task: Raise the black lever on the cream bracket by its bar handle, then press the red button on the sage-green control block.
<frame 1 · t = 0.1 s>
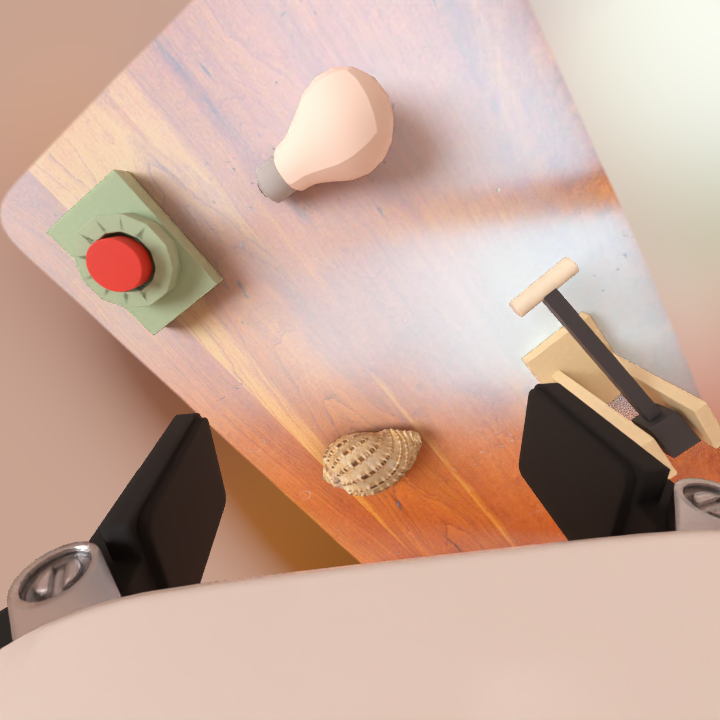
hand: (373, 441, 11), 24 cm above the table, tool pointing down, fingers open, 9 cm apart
bracket: (575, 369, 38), on the table
lever: (606, 362, 28), point 9 cm above the table, hinge at -20.0°
light bulb: (319, 149, 29), on the table
button: (120, 264, 27), point 4 cm above the table, slide at 0.1 cm
seashell: (371, 444, 40), on the table
control block: (147, 255, 31), on the table
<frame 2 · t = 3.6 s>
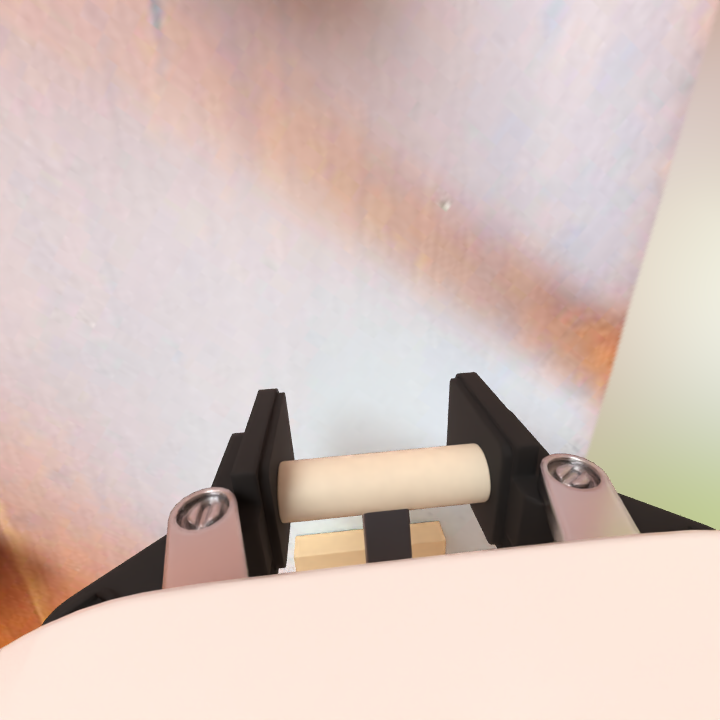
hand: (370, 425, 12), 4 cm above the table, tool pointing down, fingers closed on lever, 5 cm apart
bracket: (371, 597, 20), on the table
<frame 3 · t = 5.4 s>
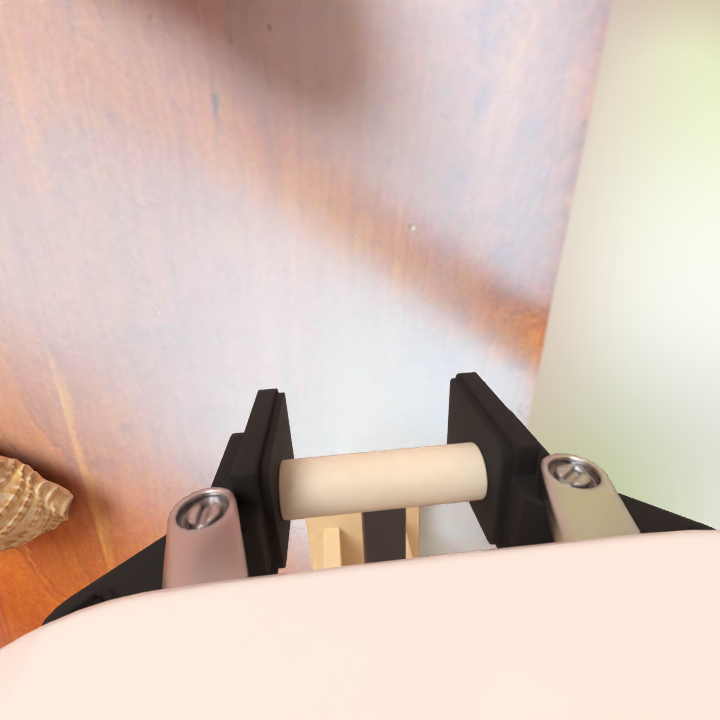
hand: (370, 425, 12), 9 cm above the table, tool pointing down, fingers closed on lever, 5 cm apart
bracket: (363, 534, 25), on the table
lever: (386, 653, 13), point 11 cm above the table, hinge at 1.3°, touching gripper
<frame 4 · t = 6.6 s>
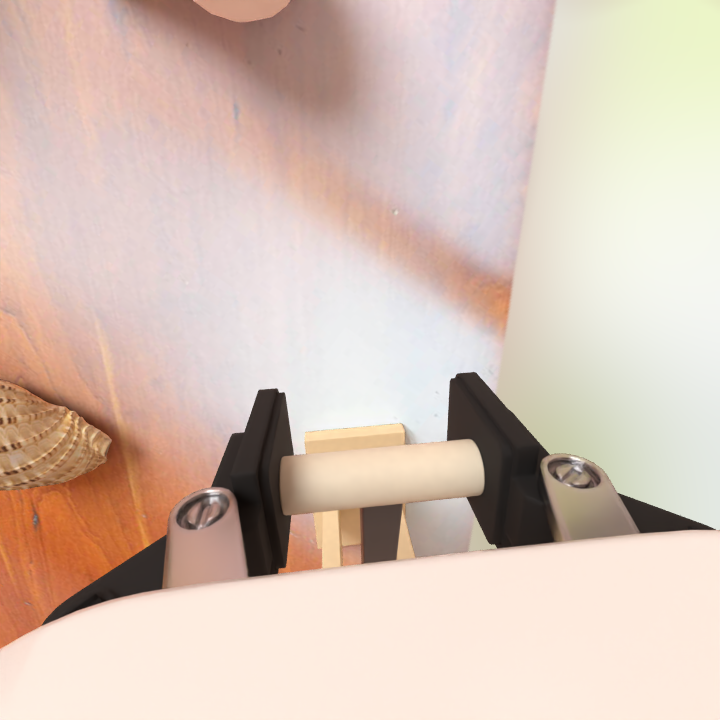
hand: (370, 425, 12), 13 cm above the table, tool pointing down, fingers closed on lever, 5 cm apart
bracket: (357, 483, 29), on the table
lever: (377, 580, 15), point 13 cm above the table, hinge at 19.5°, touching gripper
seashell: (40, 417, 25), on the table
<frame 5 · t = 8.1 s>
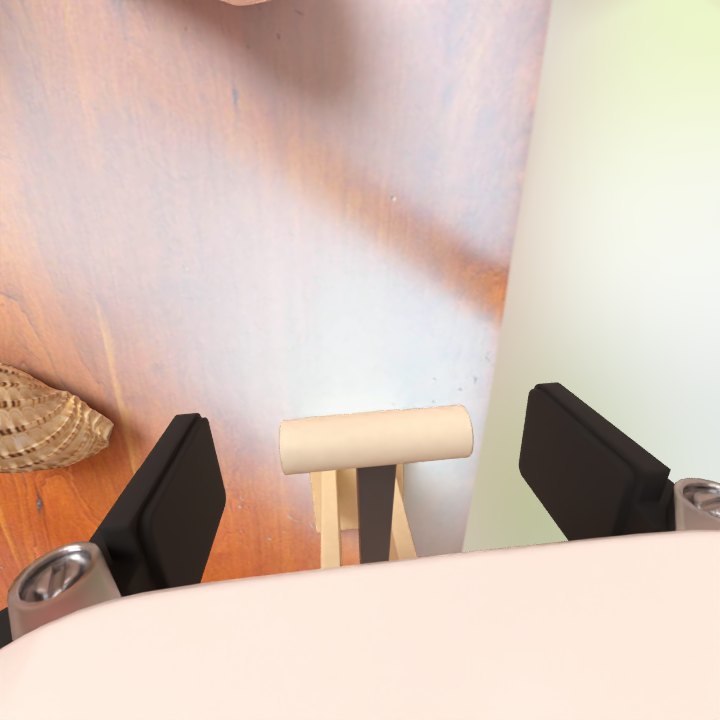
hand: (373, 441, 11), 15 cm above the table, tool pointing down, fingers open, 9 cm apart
bracket: (355, 468, 30), on the table
lever: (373, 551, 15), point 13 cm above the table, hinge at 18.4°
seashell: (43, 402, 26), on the table
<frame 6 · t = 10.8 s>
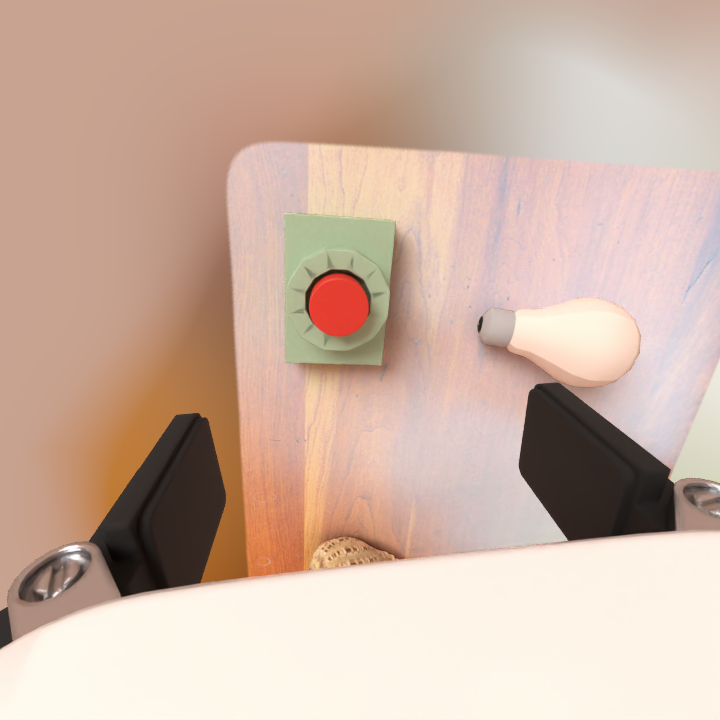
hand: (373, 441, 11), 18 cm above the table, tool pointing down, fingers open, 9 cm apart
light bulb: (534, 324, 30), on the table
button: (338, 304, 24), point 4 cm above the table, slide at 0.1 cm
seashell: (358, 553, 38), on the table
control block: (336, 289, 28), on the table
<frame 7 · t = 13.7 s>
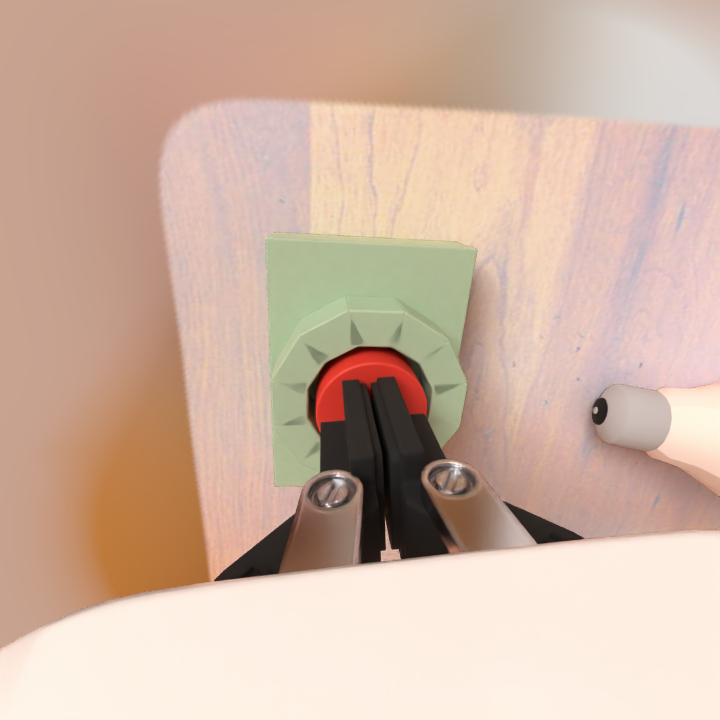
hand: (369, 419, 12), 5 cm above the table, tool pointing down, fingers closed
light bulb: (676, 401, 19), on the table
button: (369, 401, 13), point 4 cm above the table, slide at -0.7 cm, touching gripper
control block: (360, 358, 16), on the table
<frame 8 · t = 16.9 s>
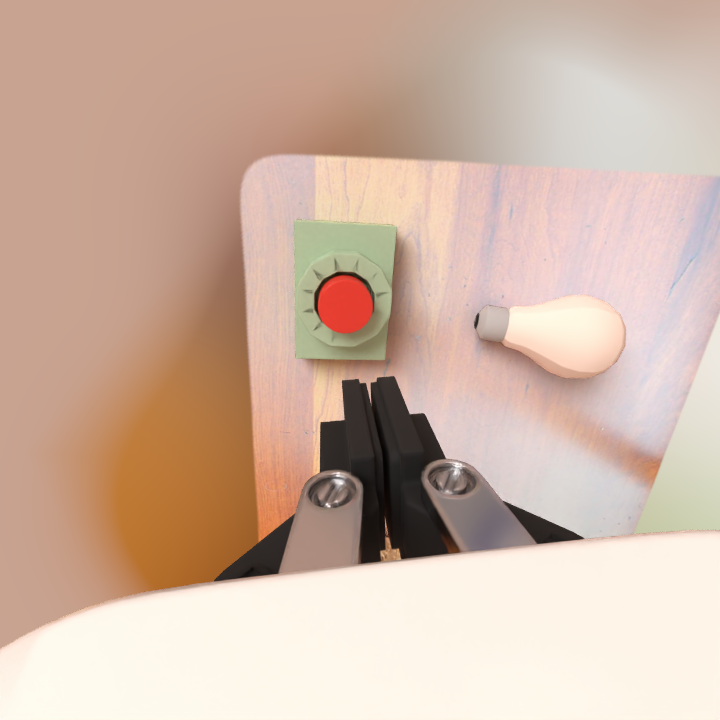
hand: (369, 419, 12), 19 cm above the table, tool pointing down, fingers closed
light bulb: (528, 320, 32), on the table
button: (345, 304, 26), point 4 cm above the table, slide at 0.1 cm
control block: (342, 289, 30), on the table
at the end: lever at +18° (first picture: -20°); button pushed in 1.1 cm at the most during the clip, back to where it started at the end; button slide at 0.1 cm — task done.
